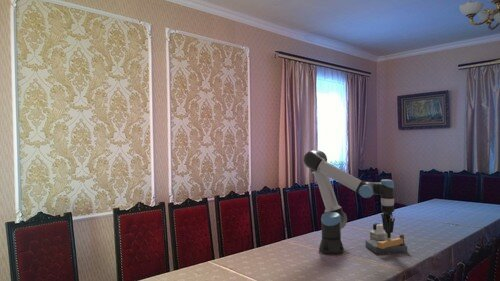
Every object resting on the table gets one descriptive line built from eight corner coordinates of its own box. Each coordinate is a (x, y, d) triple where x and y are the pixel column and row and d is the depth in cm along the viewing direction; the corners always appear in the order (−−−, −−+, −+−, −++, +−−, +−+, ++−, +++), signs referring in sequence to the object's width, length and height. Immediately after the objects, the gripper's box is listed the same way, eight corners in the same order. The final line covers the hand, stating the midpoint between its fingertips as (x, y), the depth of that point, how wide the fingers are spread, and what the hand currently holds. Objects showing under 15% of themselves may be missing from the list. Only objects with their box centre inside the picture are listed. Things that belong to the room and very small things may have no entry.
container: (369, 242, 233) (369, 223, 233) (379, 241, 235) (378, 222, 236) (377, 245, 225) (377, 225, 226) (387, 244, 228) (386, 224, 228)
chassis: (375, 253, 209) (375, 246, 209) (365, 246, 224) (365, 240, 224) (408, 252, 210) (408, 245, 210) (396, 245, 225) (396, 238, 225)
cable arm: (400, 242, 217) (400, 233, 217) (406, 243, 214) (405, 235, 214) (377, 247, 207) (376, 238, 207) (382, 249, 204) (382, 240, 204)
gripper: (398, 206, 206) (399, 245, 206) (388, 202, 218) (388, 239, 219) (386, 207, 205) (387, 246, 206) (377, 203, 218) (377, 240, 218)
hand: (388, 242), depth 212 cm, fingers closed
